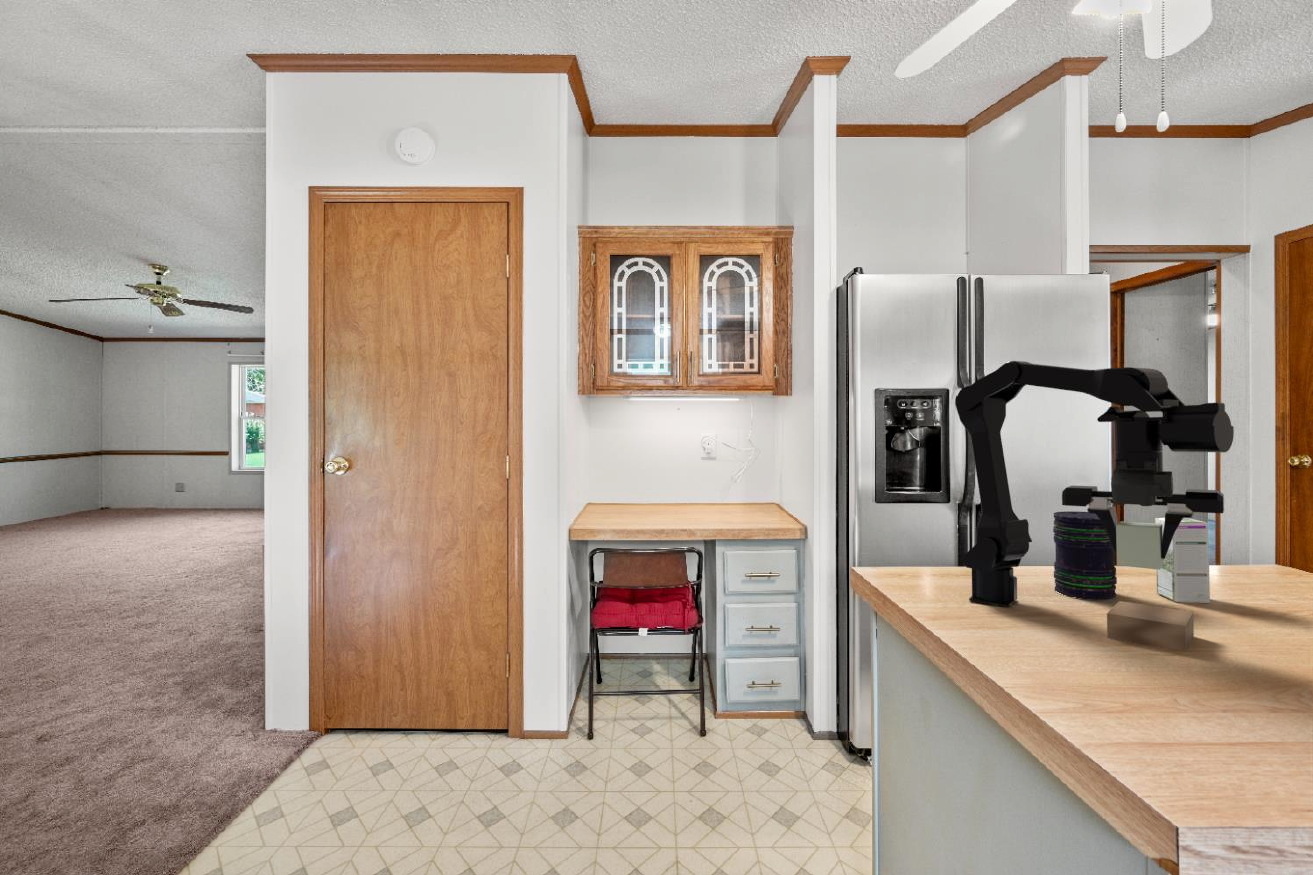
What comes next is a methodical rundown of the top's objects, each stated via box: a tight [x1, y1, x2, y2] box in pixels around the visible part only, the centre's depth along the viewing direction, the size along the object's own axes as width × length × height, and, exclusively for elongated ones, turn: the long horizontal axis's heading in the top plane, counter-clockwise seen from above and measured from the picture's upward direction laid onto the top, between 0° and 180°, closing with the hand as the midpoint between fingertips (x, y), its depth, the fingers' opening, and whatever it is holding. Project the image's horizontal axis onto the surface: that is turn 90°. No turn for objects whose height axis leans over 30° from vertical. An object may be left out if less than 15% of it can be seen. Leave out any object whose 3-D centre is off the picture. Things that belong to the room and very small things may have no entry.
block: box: [1106, 600, 1195, 653], centre depth 93 cm, size 9×9×4 cm
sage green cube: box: [1116, 520, 1163, 570], centre depth 93 cm, size 5×5×6 cm
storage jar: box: [1052, 510, 1118, 601], centre depth 118 cm, size 10×10×15 cm
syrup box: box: [1154, 517, 1211, 604], centre depth 113 cm, size 6×6×14 cm
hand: (1140, 556), depth 93 cm, fingers closed on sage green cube, 5 cm apart
